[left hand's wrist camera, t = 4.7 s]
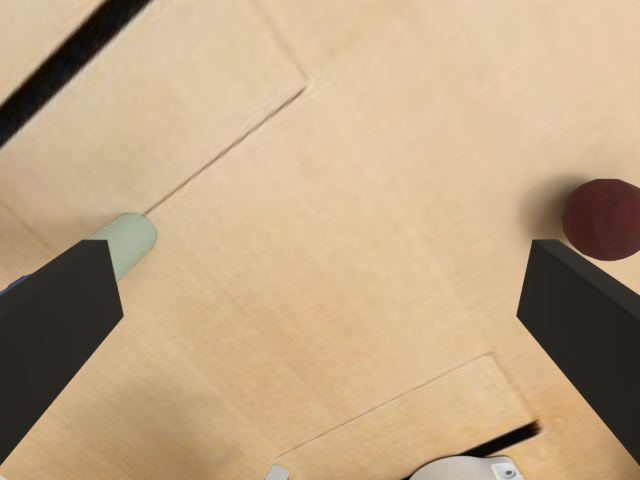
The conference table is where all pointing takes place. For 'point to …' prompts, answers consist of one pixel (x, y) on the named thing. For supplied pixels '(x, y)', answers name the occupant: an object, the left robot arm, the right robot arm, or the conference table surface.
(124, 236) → the green bottle
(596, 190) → the dark red ball
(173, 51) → the conference table surface
